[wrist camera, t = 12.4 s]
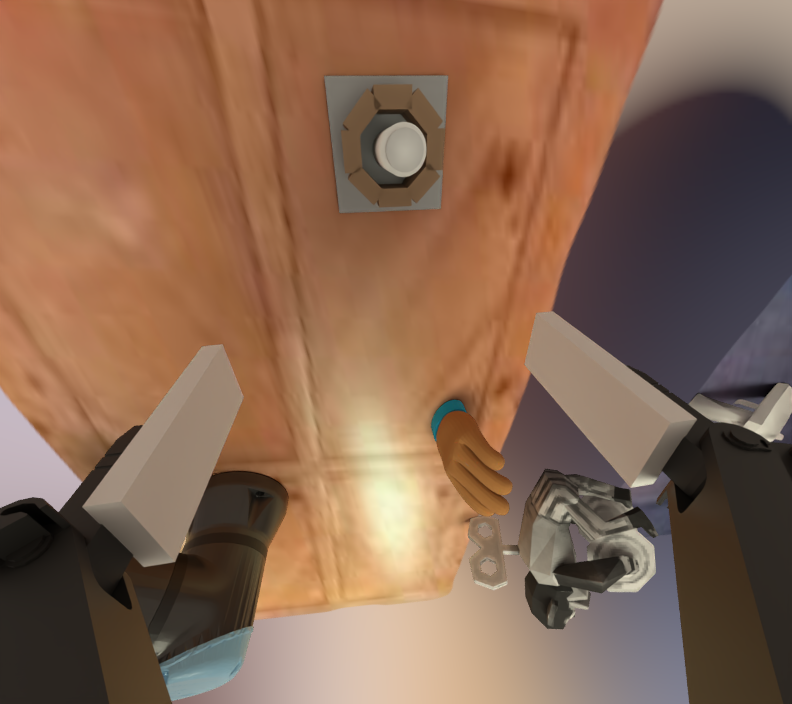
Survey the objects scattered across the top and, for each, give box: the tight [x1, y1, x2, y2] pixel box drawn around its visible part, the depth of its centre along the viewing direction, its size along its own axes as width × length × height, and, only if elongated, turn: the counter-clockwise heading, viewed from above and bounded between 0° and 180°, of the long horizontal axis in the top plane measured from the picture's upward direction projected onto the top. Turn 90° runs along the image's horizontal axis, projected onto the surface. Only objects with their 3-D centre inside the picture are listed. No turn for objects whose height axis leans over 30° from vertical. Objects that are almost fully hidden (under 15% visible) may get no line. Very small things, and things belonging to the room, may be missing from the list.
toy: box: [468, 469, 658, 629], centre depth 59 cm, size 21×31×30 cm
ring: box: [341, 84, 445, 208], centre depth 26 cm, size 8×8×4 cm
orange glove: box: [431, 400, 512, 517], centre depth 43 cm, size 12×7×15 cm, turn 166°
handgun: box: [688, 383, 792, 442], centre depth 52 cm, size 20×4×11 cm, turn 91°
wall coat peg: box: [324, 76, 448, 213], centre depth 24 cm, size 10×10×11 cm
